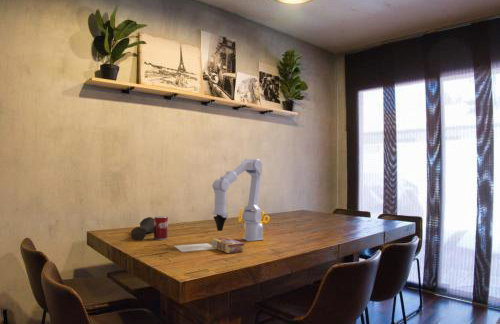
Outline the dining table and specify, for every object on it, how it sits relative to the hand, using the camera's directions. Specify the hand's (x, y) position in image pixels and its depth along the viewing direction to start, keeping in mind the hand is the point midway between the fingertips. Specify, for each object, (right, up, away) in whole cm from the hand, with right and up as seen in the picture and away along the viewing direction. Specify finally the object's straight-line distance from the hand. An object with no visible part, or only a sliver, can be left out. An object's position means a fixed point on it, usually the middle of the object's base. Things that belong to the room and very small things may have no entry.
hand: (219, 230), depth 169 cm
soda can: (-33, -8, +14) cm, 37 cm away
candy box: (0, -5, -2) cm, 6 cm away
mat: (-11, -7, -6) cm, 15 cm away
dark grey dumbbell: (-44, -8, +23) cm, 50 cm away
